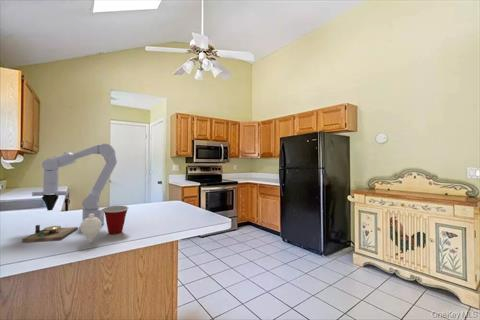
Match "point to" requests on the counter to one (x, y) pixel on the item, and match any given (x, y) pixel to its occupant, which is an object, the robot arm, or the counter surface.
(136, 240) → the counter surface
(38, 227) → the dial
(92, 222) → the cream vase
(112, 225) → the plastic cup
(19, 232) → the counter surface
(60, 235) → the dial board
